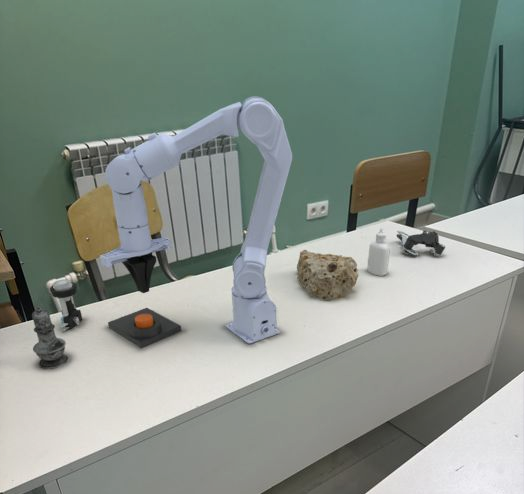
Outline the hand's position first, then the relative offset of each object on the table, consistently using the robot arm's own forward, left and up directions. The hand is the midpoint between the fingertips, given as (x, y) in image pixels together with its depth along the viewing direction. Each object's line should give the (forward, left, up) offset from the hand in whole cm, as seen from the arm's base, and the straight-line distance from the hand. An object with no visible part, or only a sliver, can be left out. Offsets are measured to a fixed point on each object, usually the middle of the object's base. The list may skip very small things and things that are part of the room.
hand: (143, 291), depth 97 cm
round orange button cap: (-1, +1, -7) cm, 7 cm away
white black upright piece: (+14, +13, -10) cm, 21 cm away
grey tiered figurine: (+1, +20, -10) cm, 22 cm away
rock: (-3, -47, -10) cm, 48 cm away
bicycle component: (0, -86, -10) cm, 87 cm away
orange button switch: (+3, 0, -10) cm, 10 cm away
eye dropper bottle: (-5, -63, -10) cm, 64 cm away
